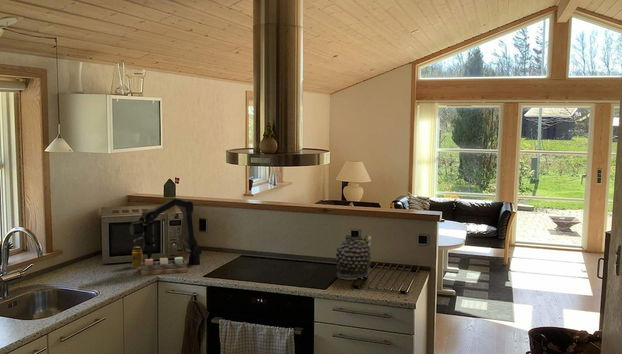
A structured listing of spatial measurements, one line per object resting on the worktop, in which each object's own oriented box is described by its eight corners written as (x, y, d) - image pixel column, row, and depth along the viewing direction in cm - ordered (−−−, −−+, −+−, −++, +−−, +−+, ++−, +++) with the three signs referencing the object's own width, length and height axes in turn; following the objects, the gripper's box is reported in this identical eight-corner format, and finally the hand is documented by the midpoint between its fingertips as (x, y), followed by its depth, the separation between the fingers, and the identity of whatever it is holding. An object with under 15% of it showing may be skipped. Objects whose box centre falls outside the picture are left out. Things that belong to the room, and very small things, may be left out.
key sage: (182, 261, 348) (182, 256, 348) (182, 263, 344) (182, 258, 344) (174, 262, 347) (174, 257, 347) (175, 264, 343) (175, 259, 343)
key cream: (167, 262, 346) (167, 257, 345) (168, 264, 342) (168, 259, 341) (159, 263, 344) (159, 258, 344) (160, 265, 340) (160, 260, 340)
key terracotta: (152, 263, 343) (152, 258, 343) (153, 265, 339) (153, 260, 339) (144, 264, 342) (144, 259, 342) (145, 266, 338) (145, 260, 337)
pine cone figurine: (364, 272, 344) (365, 231, 341) (374, 279, 330) (375, 236, 327) (331, 275, 338) (331, 232, 335) (340, 282, 323) (341, 238, 321)
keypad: (185, 266, 354) (185, 258, 354) (187, 272, 341) (187, 264, 340) (140, 269, 346) (140, 261, 346) (141, 275, 333) (141, 267, 332)
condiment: (129, 267, 350) (128, 247, 348) (138, 264, 358) (137, 244, 356) (139, 268, 347) (139, 248, 346) (148, 265, 355) (147, 245, 354)
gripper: (133, 230, 345) (134, 256, 346) (134, 236, 327) (134, 263, 329) (153, 229, 348) (153, 255, 350) (154, 235, 331) (155, 262, 332)
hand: (148, 259), depth 340 cm, fingers closed
